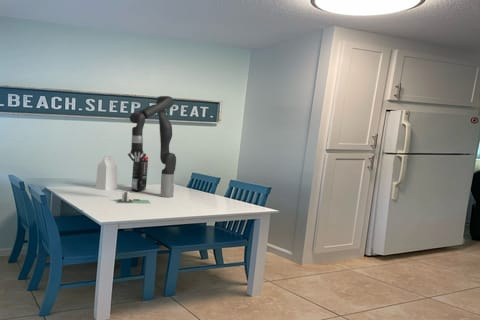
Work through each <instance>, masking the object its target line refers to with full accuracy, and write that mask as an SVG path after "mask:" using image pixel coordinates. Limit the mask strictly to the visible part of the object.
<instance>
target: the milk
mask: <svg viewBox="0 0 480 320" xmlns="http://www.w3.org/2000/svg"><path fill="white" fill-rule="evenodd" d="M96 188H98V189H97V190H101V191H102V190H103V191H110V190H111V191H112V190H118V166H117V164H116V163H115V161H114V160H113V157H112V156H111V155H110V156H109V155H107V156H104V157H103V159H102V160H101V161H100V162H99V163H98V165H97V169H96V180H95V189H96Z"/></svg>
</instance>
